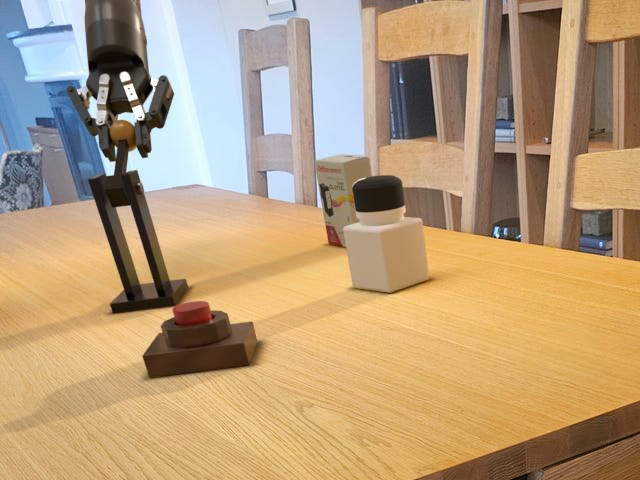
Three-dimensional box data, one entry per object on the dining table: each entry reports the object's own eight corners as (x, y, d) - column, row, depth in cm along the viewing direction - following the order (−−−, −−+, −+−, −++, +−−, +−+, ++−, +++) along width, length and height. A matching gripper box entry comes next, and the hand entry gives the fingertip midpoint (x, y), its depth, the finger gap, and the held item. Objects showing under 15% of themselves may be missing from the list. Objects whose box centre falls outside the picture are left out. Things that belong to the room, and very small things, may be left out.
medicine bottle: (430, 279, 105) (418, 172, 98) (389, 293, 101) (373, 183, 94) (392, 274, 109) (377, 171, 102) (351, 288, 105) (333, 181, 98)
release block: (149, 377, 82) (135, 337, 80) (164, 353, 89) (152, 315, 87) (249, 365, 83) (238, 324, 80) (257, 342, 89) (248, 303, 87)
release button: (174, 330, 82) (168, 312, 81) (180, 321, 85) (175, 303, 84) (210, 326, 82) (205, 308, 81) (215, 316, 85) (211, 299, 84)
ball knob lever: (117, 143, 111) (105, 115, 108) (144, 140, 111) (133, 112, 108) (108, 213, 104) (96, 185, 100) (137, 209, 104) (125, 181, 101)
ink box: (327, 244, 131) (311, 159, 124) (353, 238, 133) (339, 154, 126) (356, 249, 125) (341, 160, 118) (383, 243, 128) (370, 155, 121)
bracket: (130, 294, 114) (91, 173, 106) (188, 287, 115) (153, 165, 106) (112, 313, 106) (68, 183, 98) (175, 305, 107) (136, 175, 98)
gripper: (49, 22, 107) (57, 140, 104) (159, 10, 107) (170, 126, 105) (76, 71, 114) (85, 182, 112) (179, 59, 115) (190, 169, 112)
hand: (126, 154), depth 108 cm, fingers closed on ball knob lever, 3 cm apart
